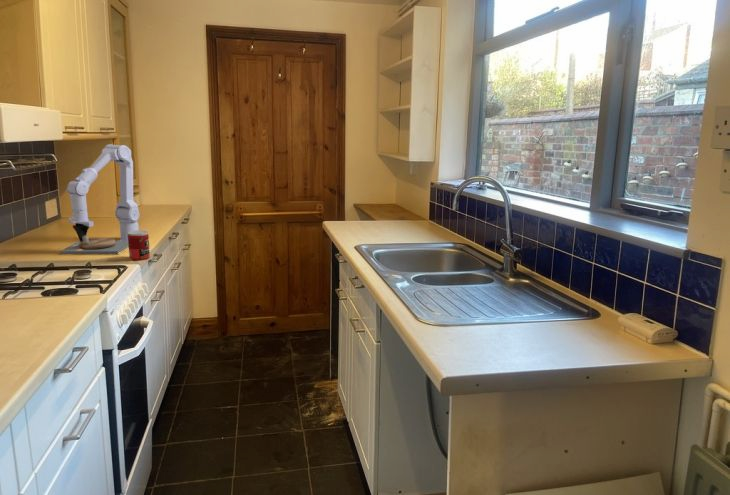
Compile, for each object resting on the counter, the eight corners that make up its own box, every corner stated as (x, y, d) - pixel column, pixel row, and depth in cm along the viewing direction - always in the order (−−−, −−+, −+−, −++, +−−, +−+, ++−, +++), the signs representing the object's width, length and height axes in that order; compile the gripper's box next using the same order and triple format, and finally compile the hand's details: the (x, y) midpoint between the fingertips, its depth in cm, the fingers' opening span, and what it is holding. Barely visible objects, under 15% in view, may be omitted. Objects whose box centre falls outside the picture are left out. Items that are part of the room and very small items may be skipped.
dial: (72, 246, 236) (70, 234, 235) (100, 240, 248) (99, 229, 247) (94, 250, 230) (93, 238, 229) (122, 243, 242) (121, 232, 241)
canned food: (143, 261, 223) (141, 234, 220) (125, 259, 224) (123, 233, 222) (153, 256, 230) (152, 231, 228) (136, 255, 232) (134, 229, 229)
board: (79, 243, 248) (78, 240, 247) (132, 244, 250) (131, 240, 250) (60, 254, 229) (60, 250, 229) (117, 254, 232) (117, 250, 231)
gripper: (60, 209, 232) (63, 240, 235) (81, 213, 225) (84, 245, 228) (76, 206, 238) (79, 237, 241) (96, 210, 231) (99, 242, 234)
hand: (82, 241), depth 235 cm, fingers closed
